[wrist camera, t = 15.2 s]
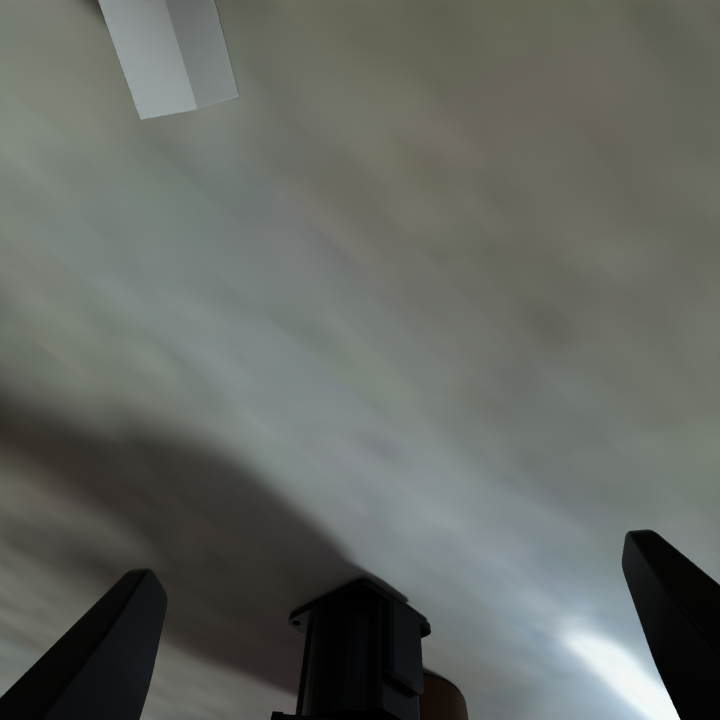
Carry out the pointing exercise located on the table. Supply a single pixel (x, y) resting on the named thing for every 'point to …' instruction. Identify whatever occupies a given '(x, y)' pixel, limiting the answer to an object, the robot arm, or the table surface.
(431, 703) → the olive oil
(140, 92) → the slotted rail
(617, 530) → the table surface
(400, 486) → the table surface
